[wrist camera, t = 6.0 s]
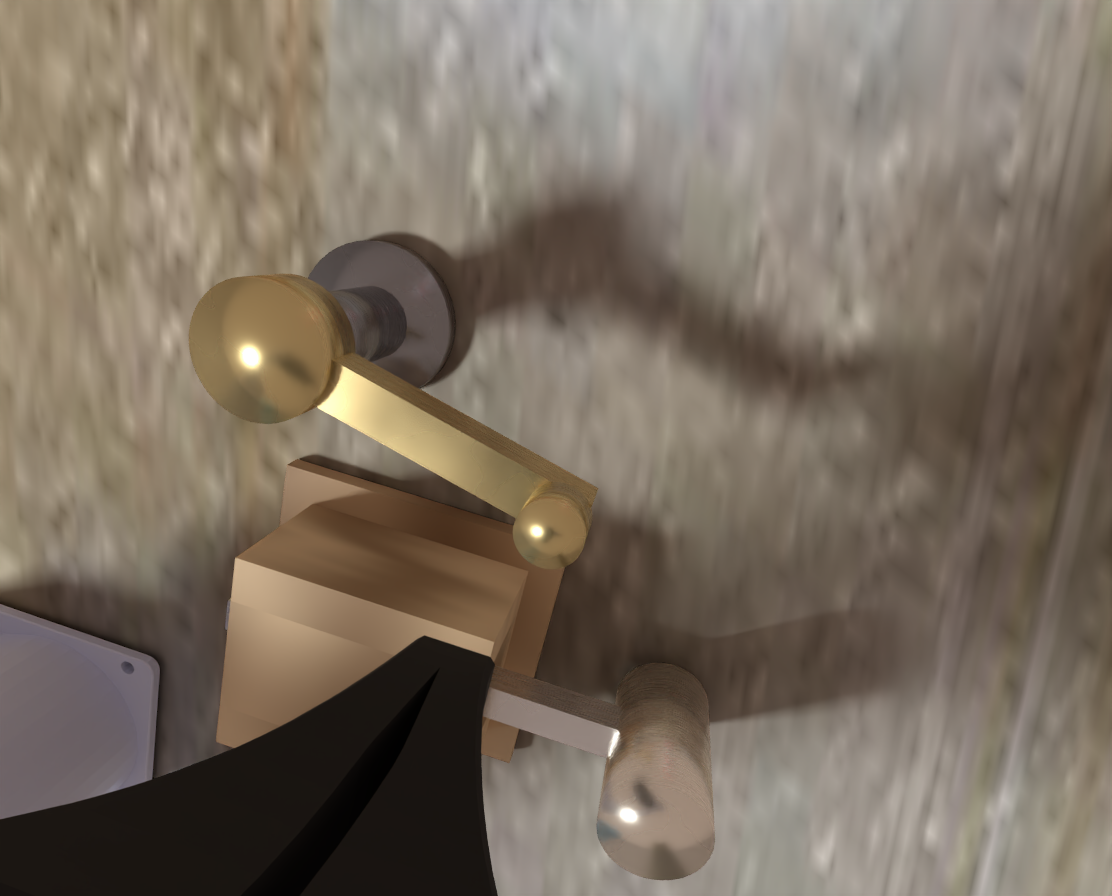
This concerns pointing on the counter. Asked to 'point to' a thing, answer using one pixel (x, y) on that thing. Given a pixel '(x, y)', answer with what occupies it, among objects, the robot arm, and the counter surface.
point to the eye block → (371, 599)
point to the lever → (374, 405)
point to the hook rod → (630, 759)
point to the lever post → (392, 307)
